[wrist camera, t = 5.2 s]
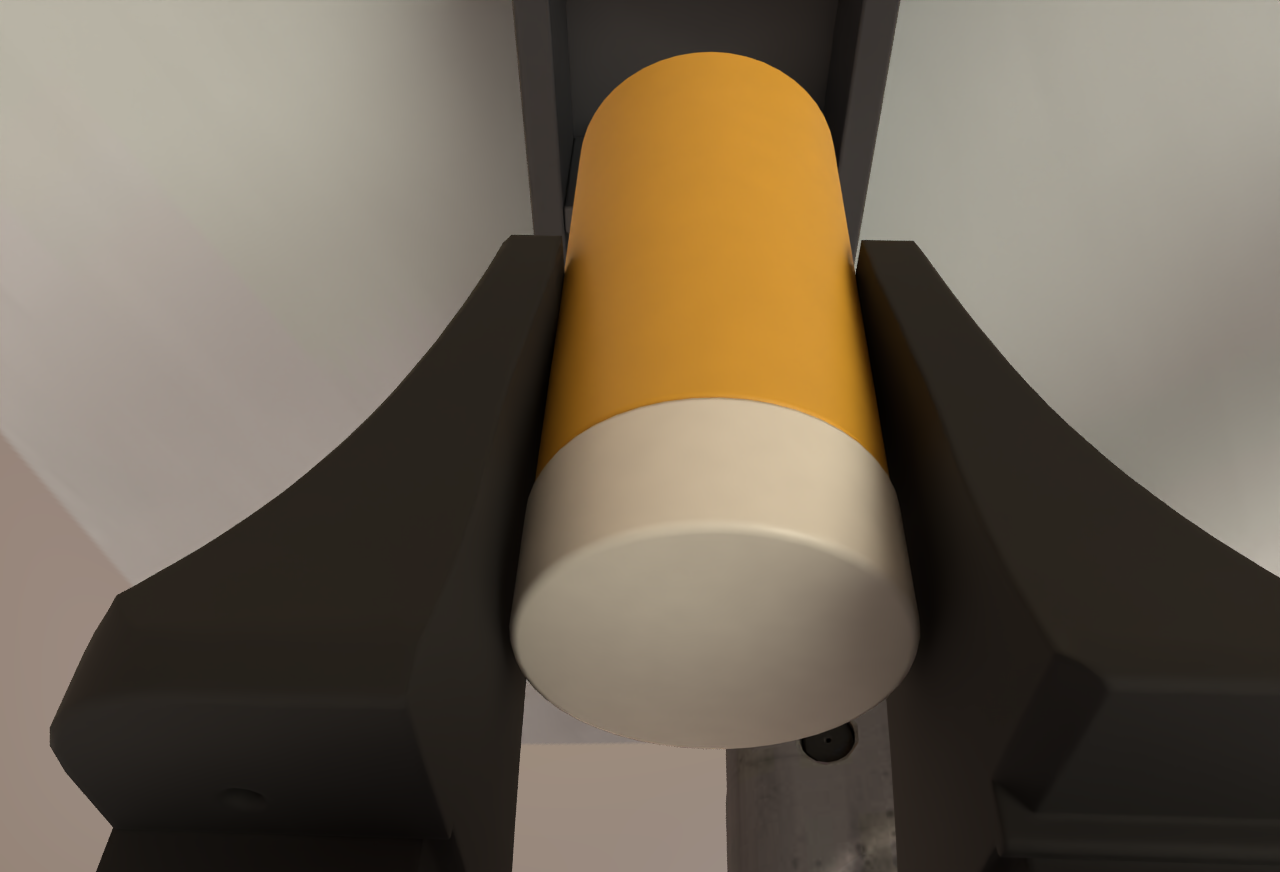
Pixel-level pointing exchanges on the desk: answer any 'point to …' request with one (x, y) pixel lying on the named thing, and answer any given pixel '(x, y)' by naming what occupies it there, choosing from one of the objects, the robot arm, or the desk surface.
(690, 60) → the pill bottle
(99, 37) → the desk surface
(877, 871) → the electronic device
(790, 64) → the organizer
